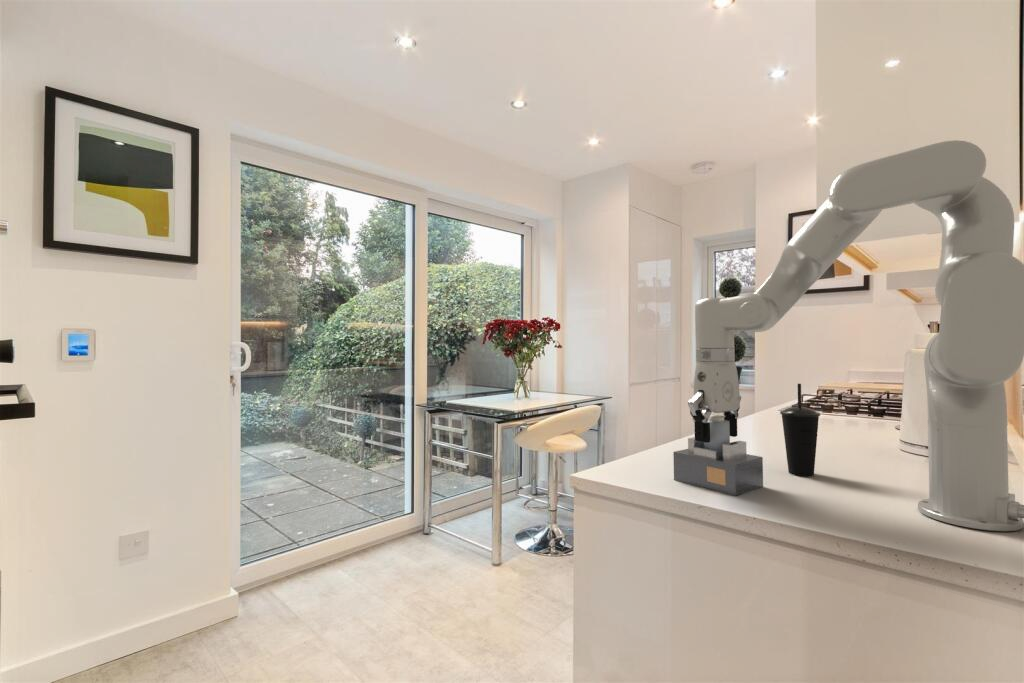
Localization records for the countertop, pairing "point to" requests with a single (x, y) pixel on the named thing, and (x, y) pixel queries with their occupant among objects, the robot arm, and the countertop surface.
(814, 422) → the drinking cup
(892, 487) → the countertop surface
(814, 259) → the robot arm
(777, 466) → the countertop surface
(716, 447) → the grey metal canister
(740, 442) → the grey labeled bracket block
